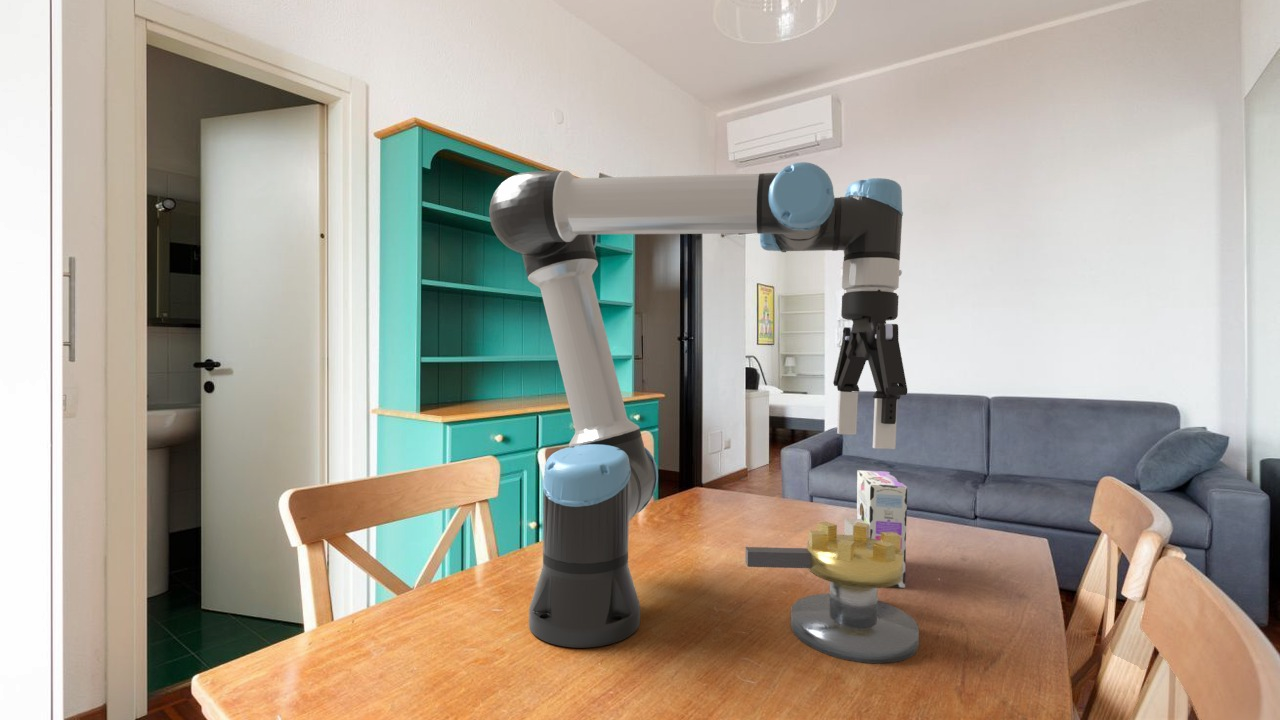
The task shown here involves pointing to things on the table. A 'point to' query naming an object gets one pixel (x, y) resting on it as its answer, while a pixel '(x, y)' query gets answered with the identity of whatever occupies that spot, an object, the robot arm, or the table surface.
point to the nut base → (855, 639)
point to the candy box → (883, 506)
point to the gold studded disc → (840, 557)
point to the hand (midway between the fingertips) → (863, 441)
